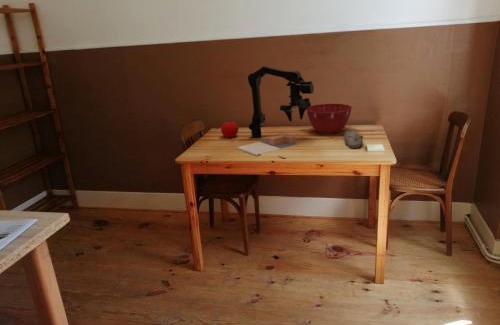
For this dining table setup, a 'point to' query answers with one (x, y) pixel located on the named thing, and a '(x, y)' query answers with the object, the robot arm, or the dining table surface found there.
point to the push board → (262, 147)
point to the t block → (282, 139)
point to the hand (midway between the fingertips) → (296, 120)
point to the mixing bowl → (329, 117)
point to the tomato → (229, 129)
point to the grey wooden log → (353, 139)
